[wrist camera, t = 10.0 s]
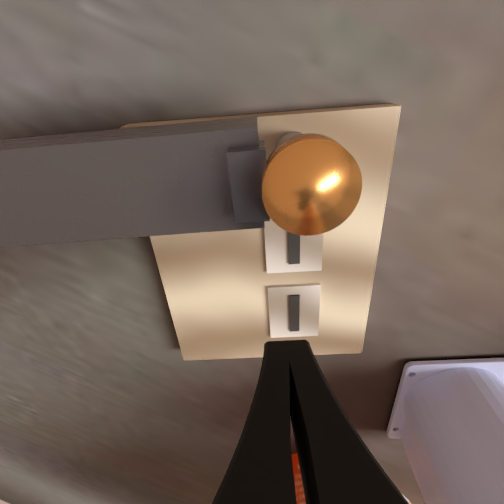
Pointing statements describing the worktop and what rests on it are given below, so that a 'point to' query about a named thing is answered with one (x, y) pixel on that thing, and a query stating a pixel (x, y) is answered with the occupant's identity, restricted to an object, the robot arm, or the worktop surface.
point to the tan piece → (284, 254)
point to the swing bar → (171, 183)
